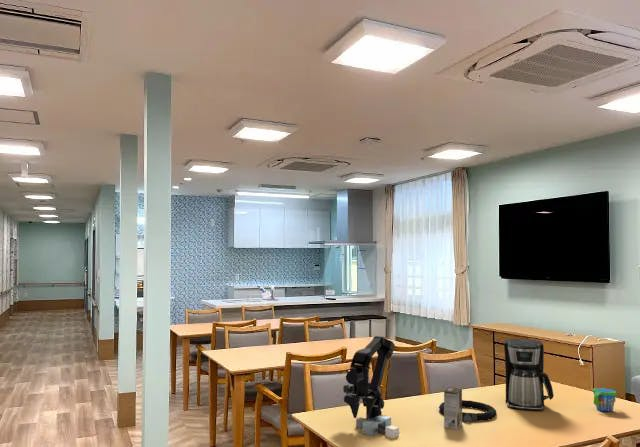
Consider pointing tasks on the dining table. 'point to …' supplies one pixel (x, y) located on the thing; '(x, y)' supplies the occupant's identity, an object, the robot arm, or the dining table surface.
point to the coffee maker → (525, 374)
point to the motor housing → (375, 425)
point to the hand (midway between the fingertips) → (361, 416)
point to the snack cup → (604, 399)
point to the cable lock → (475, 416)
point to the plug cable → (389, 432)
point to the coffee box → (452, 408)
